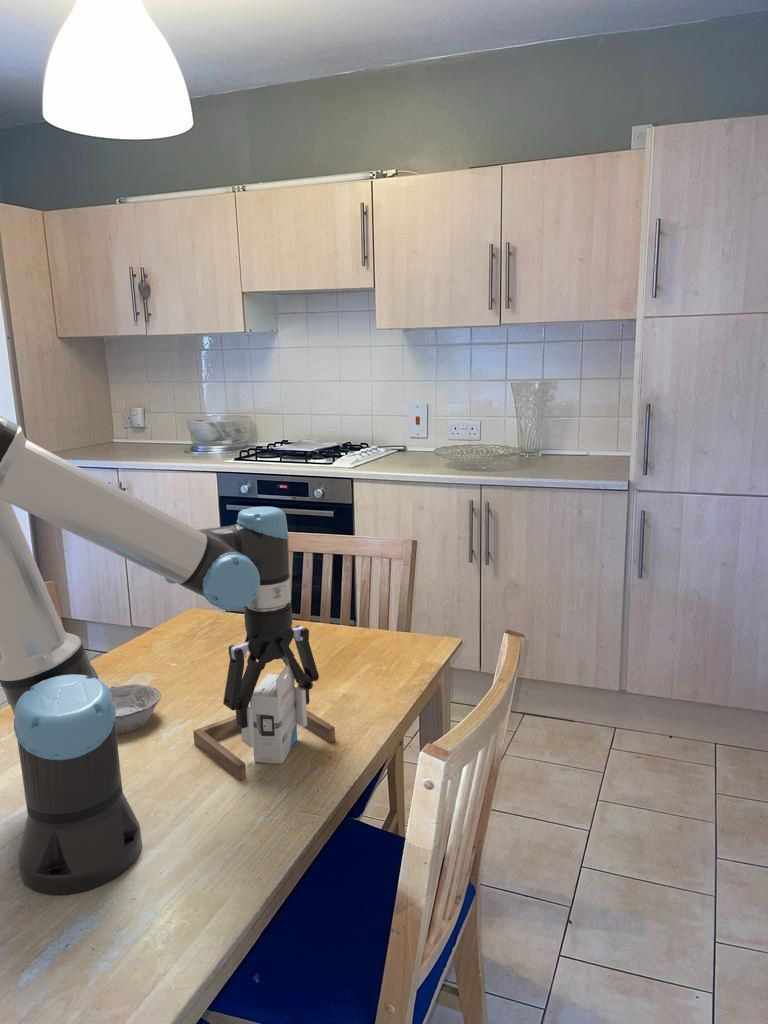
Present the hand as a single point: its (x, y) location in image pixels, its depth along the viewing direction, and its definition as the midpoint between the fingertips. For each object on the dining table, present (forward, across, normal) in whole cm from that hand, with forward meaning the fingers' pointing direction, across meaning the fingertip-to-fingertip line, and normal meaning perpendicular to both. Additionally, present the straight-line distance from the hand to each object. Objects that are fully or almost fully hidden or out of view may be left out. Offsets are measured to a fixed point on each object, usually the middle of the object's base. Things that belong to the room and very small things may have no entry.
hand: (275, 733), depth 129 cm
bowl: (+3, -15, +27) cm, 31 cm away
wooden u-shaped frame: (+3, 0, +3) cm, 4 cm away
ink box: (+3, 0, 0) cm, 3 cm away
